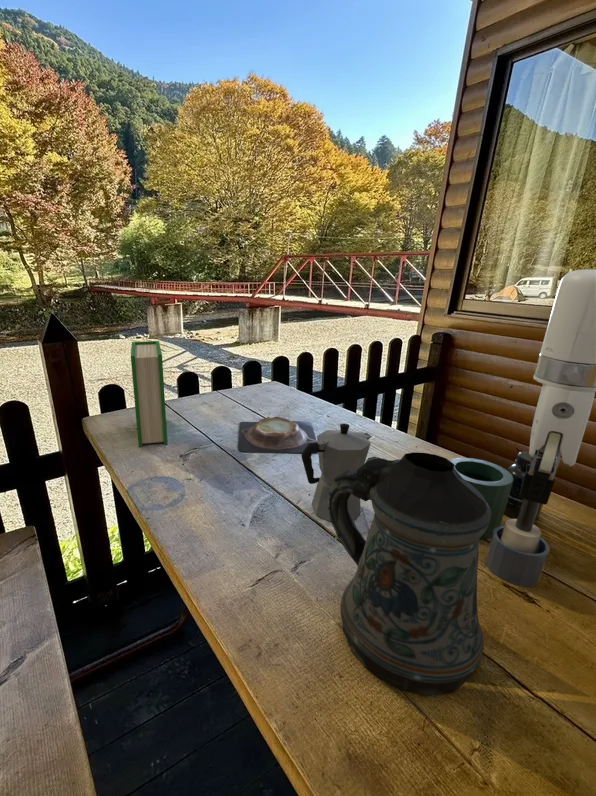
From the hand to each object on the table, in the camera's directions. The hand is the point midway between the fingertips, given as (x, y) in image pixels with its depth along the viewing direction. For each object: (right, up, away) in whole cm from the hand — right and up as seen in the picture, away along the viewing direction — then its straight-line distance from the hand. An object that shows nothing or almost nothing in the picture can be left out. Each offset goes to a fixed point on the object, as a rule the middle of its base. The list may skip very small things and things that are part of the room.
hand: (533, 495), depth 59 cm
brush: (0, -10, +4) cm, 11 cm away
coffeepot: (-24, -7, +20) cm, 32 cm away
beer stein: (-22, -17, -5) cm, 29 cm away
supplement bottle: (+11, -8, +19) cm, 24 cm away
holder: (0, -13, +5) cm, 14 cm away
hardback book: (-65, +6, +56) cm, 86 cm away
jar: (0, -9, +16) cm, 18 cm away
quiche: (-30, +5, +53) cm, 61 cm away
